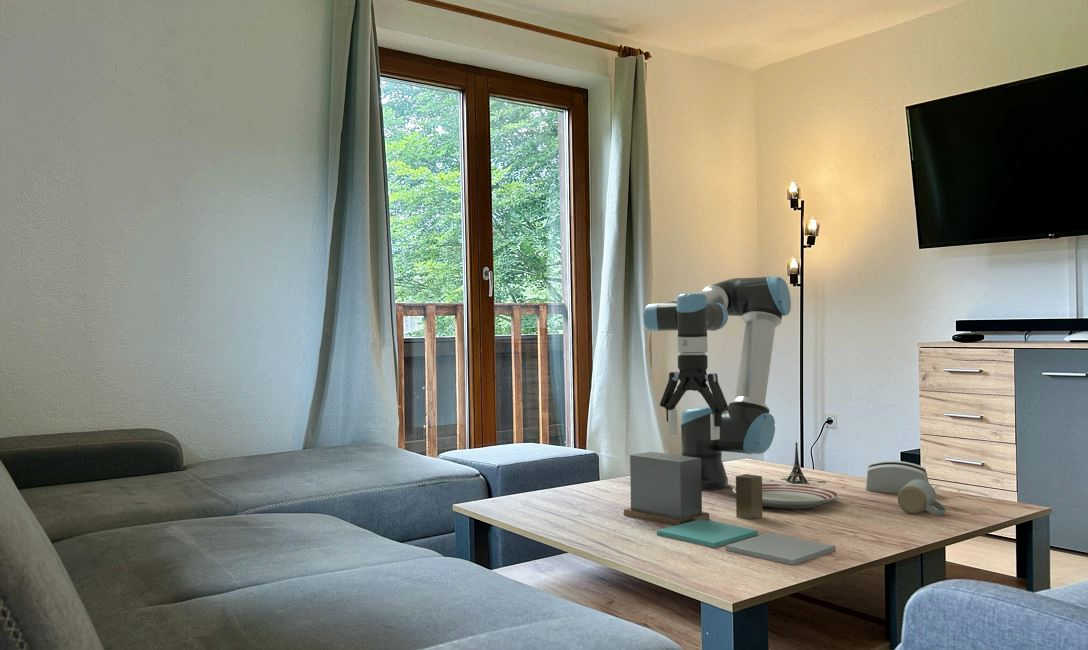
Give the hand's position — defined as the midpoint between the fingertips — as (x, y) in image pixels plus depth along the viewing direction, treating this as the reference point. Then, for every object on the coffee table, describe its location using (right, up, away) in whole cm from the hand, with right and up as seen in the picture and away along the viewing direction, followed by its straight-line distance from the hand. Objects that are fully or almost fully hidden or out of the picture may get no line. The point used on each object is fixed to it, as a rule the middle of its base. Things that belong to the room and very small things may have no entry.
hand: (693, 437), depth 220 cm
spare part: (+12, -19, -8) cm, 24 cm away
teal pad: (-1, -19, -25) cm, 32 cm away
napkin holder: (+60, -18, +21) cm, 66 cm away
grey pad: (+11, -19, -39) cm, 45 cm away
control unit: (-8, -19, -7) cm, 22 cm away
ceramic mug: (+56, -18, -5) cm, 59 cm away
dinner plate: (+26, -19, +10) cm, 34 cm away
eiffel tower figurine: (+38, -19, +38) cm, 57 cm away
